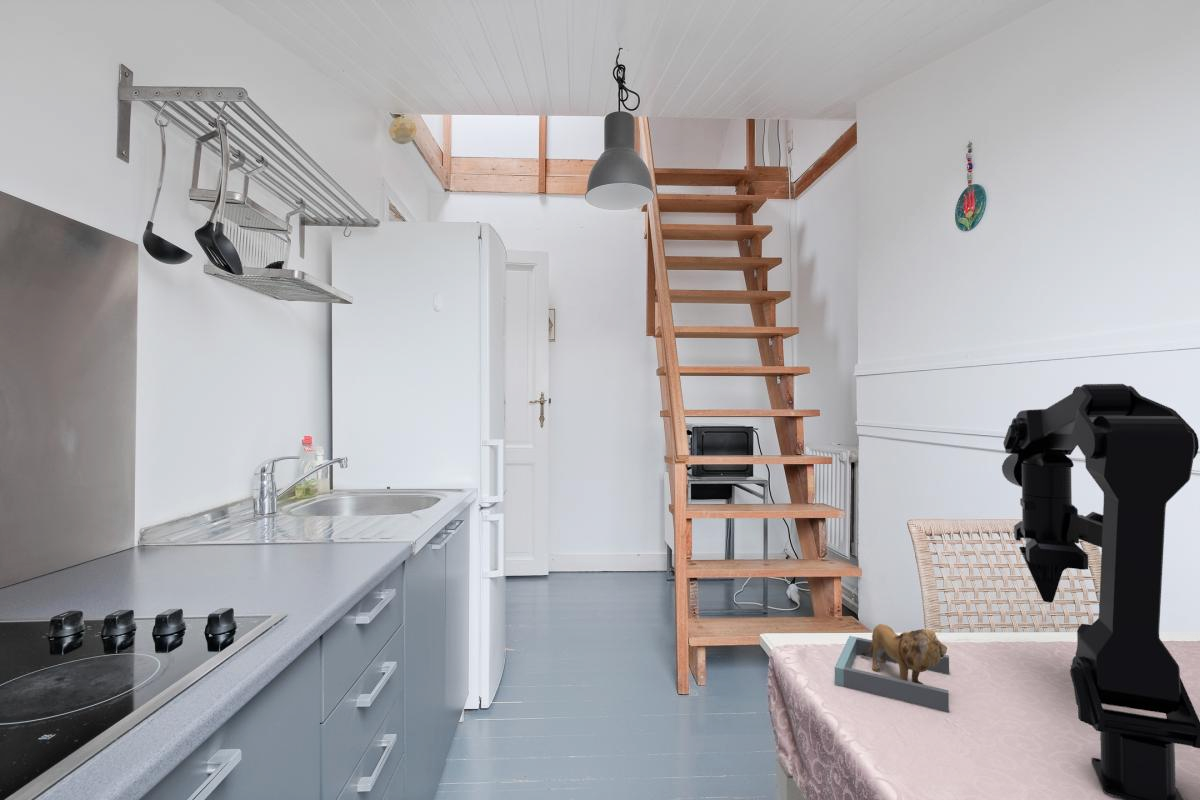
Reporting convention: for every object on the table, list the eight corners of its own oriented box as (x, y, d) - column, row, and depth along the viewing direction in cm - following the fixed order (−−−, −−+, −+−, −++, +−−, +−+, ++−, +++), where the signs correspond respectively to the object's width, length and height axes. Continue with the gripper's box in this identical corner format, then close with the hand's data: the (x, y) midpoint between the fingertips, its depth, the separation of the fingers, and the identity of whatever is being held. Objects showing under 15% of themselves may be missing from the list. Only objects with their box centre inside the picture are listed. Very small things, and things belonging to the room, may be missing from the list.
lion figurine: (954, 697, 78) (953, 633, 78) (925, 703, 76) (924, 637, 77) (873, 655, 92) (872, 600, 92) (847, 659, 90) (846, 603, 90)
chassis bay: (948, 712, 74) (948, 693, 74) (834, 684, 82) (834, 667, 82) (949, 671, 86) (949, 655, 86) (849, 650, 93) (849, 635, 93)
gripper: (1140, 510, 70) (1142, 635, 70) (1102, 491, 86) (1104, 592, 85) (1029, 502, 76) (1030, 617, 75) (1013, 486, 92) (1014, 581, 91)
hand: (1047, 601), depth 82 cm, fingers closed
